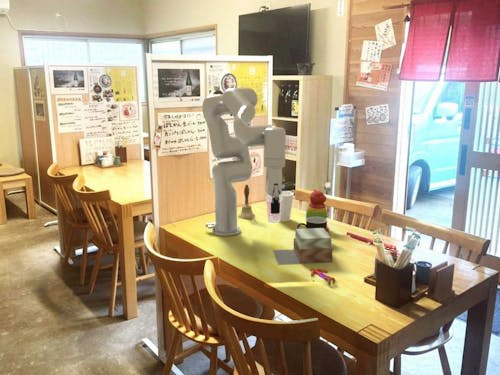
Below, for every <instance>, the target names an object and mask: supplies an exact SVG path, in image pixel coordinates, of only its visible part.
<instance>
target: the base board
mask: <svg viewBox="0 0 500 375" xmlns="http://www.w3.org/2000/svg"><path fill="white" fill-rule="evenodd" d="M272 252H273V255H274V258H275V260H276V263H277V265H278V266H279V265H280V266H282V265H307V264H309V265H310V264H330V263H331V264H332V263H334V262H333V260H332V261H329V262H304V263H300V262H299V260H298V258H297V256H296V254H295V252H294V248H293V249H276V250H275V249H273V250H272Z"/></svg>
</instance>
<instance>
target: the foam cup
mask: <svg viewBox="0 0 500 375" xmlns="http://www.w3.org/2000/svg"><path fill="white" fill-rule="evenodd" d="M279 196H281V197H282V198H283V199H282V204H281V217H280V222H283V223H285V222H289V221H290V219H291V214H292V207H293V201H294V192H291V191H288V190H287V191H286V190H282V192H281V195H279Z"/></svg>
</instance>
